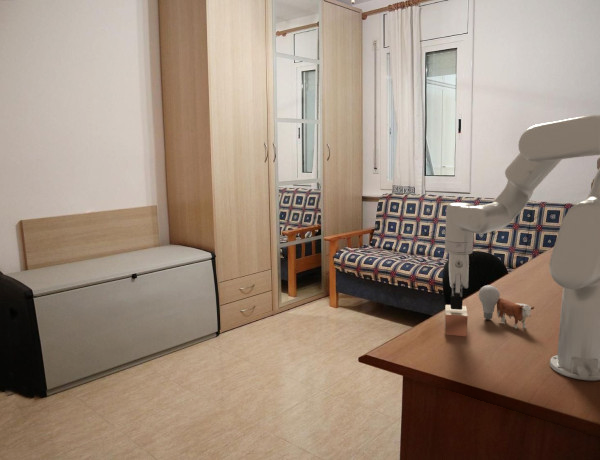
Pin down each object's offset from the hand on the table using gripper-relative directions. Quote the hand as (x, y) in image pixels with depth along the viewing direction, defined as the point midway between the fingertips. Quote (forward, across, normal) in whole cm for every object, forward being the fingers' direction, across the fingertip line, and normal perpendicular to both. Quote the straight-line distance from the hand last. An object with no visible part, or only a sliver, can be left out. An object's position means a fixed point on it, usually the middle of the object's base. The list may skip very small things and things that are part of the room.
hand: (456, 308), depth 147 cm
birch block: (+4, -3, 0) cm, 5 cm away
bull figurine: (+7, +8, -17) cm, 20 cm away
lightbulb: (+7, +12, -10) cm, 17 cm away
